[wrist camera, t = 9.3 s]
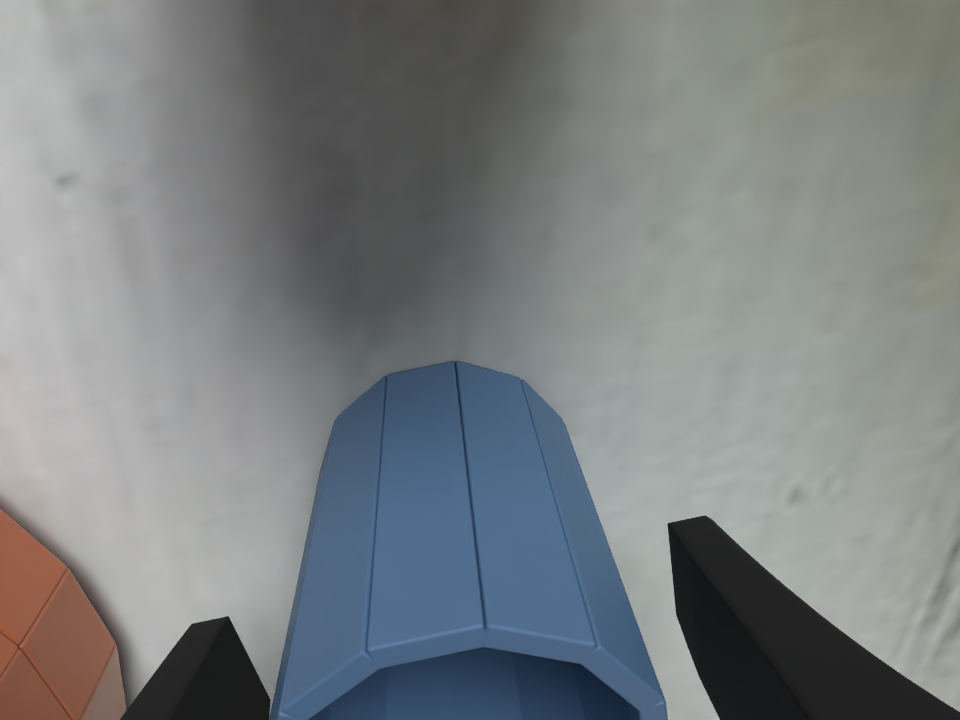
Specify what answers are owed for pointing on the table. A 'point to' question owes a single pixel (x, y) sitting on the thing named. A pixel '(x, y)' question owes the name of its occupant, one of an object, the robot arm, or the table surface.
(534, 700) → the blue cup
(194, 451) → the table surface
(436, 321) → the table surface
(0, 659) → the bowl
